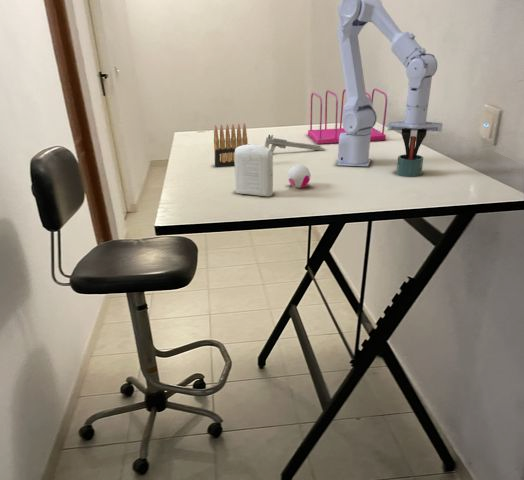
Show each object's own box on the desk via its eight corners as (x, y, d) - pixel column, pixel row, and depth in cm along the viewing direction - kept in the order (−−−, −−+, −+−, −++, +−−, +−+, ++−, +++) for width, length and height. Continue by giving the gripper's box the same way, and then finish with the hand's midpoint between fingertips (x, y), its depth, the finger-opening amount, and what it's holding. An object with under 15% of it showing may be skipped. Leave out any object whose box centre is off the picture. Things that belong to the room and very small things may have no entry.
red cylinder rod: (406, 172, 152) (410, 137, 146) (406, 170, 153) (410, 136, 148) (411, 172, 151) (416, 137, 146) (411, 170, 153) (416, 136, 147)
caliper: (265, 154, 176) (265, 134, 172) (265, 154, 177) (264, 134, 173) (324, 150, 179) (324, 130, 176) (323, 149, 180) (323, 130, 177)
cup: (395, 175, 150) (397, 159, 148) (396, 169, 156) (398, 153, 154) (421, 177, 149) (423, 160, 146) (421, 170, 154) (423, 154, 152)
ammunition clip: (248, 163, 167) (246, 122, 160) (249, 164, 165) (247, 123, 159) (214, 165, 165) (211, 124, 159) (215, 167, 164) (212, 125, 157)
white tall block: (275, 193, 139) (275, 144, 133) (269, 197, 136) (268, 147, 129) (239, 189, 143) (237, 141, 136) (233, 194, 139) (230, 145, 133)
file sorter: (385, 140, 189) (390, 92, 180) (317, 144, 187) (319, 95, 178) (371, 131, 204) (374, 86, 195) (307, 134, 201) (308, 89, 192)
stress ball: (301, 203, 142) (315, 184, 138) (278, 184, 141) (291, 164, 137) (309, 194, 148) (323, 175, 143) (287, 176, 147) (300, 156, 143)
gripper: (389, 107, 141) (383, 160, 148) (445, 108, 138) (437, 161, 145) (390, 103, 147) (385, 154, 154) (444, 104, 143) (437, 155, 151)
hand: (410, 157), depth 150 cm, fingers closed on red cylinder rod
